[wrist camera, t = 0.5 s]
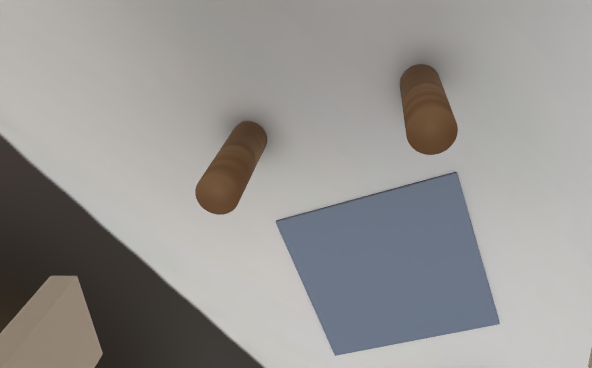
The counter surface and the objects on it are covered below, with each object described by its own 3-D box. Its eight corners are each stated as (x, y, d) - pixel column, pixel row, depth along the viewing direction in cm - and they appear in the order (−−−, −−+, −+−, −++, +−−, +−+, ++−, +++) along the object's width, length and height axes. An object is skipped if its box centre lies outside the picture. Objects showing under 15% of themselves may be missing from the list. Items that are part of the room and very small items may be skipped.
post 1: (226, 127, 40) (188, 181, 32) (258, 117, 39) (228, 169, 31) (240, 159, 41) (206, 219, 33) (272, 149, 40) (245, 208, 32)
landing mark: (276, 220, 43) (275, 222, 42) (456, 171, 39) (456, 173, 39) (335, 353, 48) (334, 355, 48) (499, 322, 44) (499, 323, 44)
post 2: (395, 72, 36) (400, 116, 28) (434, 59, 36) (450, 101, 28) (406, 107, 37) (414, 160, 29) (444, 95, 37) (463, 146, 29)
